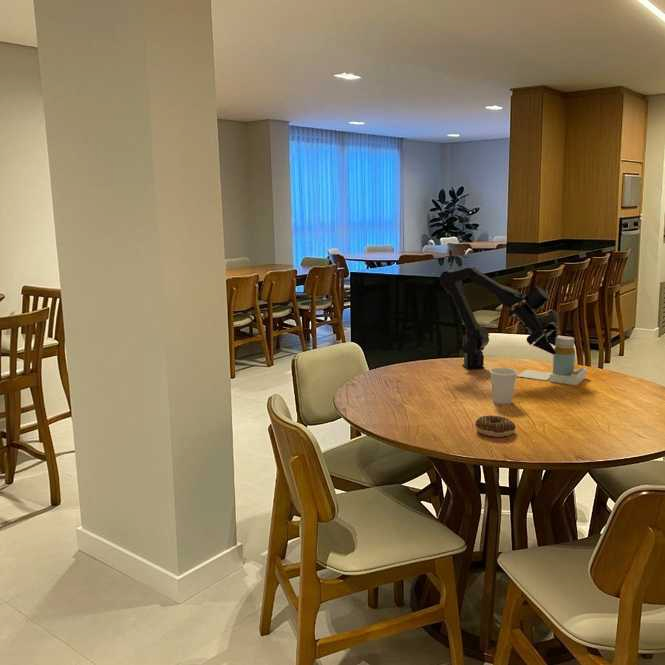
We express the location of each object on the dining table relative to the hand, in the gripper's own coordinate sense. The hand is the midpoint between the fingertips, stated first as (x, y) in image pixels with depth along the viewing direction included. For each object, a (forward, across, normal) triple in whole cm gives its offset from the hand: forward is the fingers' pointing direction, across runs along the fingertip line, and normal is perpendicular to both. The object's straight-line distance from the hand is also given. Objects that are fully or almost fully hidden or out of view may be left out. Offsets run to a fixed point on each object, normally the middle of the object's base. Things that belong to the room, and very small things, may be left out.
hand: (558, 351), depth 232 cm
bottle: (+8, 0, +6) cm, 10 cm away
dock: (+9, 0, +5) cm, 11 cm away
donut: (+10, -66, +5) cm, 67 cm away
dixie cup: (+3, -38, +11) cm, 40 cm away
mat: (+2, 0, +12) cm, 12 cm away
